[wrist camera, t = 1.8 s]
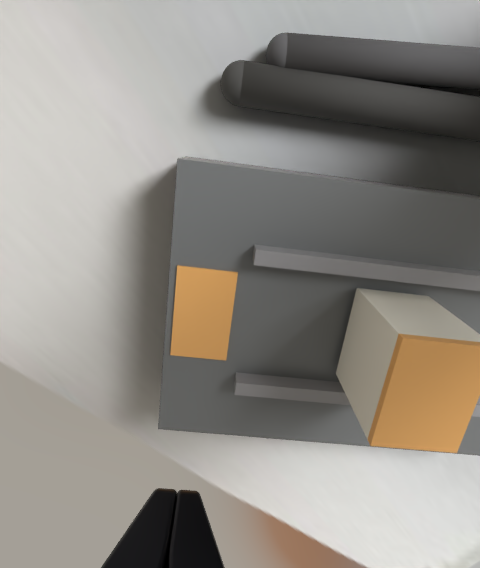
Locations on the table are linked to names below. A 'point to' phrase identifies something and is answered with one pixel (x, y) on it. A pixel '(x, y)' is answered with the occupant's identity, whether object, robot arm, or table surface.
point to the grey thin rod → (378, 59)
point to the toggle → (409, 371)
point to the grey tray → (297, 292)
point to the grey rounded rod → (351, 100)
